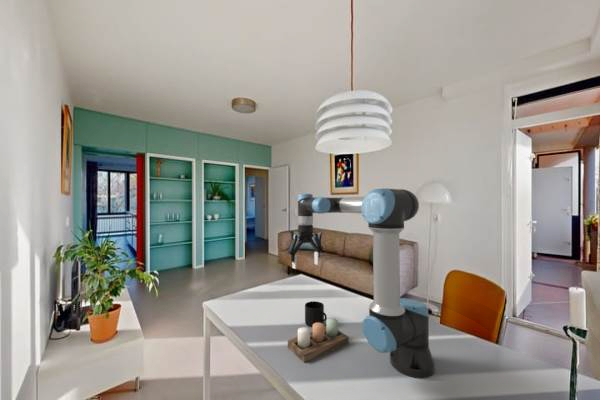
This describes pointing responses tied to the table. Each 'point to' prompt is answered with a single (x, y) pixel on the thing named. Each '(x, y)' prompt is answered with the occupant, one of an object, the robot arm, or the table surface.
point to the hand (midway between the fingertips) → (305, 266)
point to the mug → (314, 313)
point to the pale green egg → (332, 327)
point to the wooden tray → (318, 346)
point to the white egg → (303, 338)
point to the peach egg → (318, 332)
